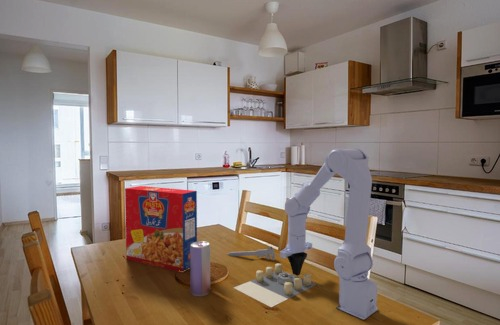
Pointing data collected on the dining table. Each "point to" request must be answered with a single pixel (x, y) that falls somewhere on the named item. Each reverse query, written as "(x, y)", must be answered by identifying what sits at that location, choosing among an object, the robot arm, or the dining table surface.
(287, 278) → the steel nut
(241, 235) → the dining table surface
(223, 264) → the dining table surface
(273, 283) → the board
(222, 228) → the dining table surface
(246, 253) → the caliper
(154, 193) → the pasta box
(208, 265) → the beverage can
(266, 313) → the dining table surface
